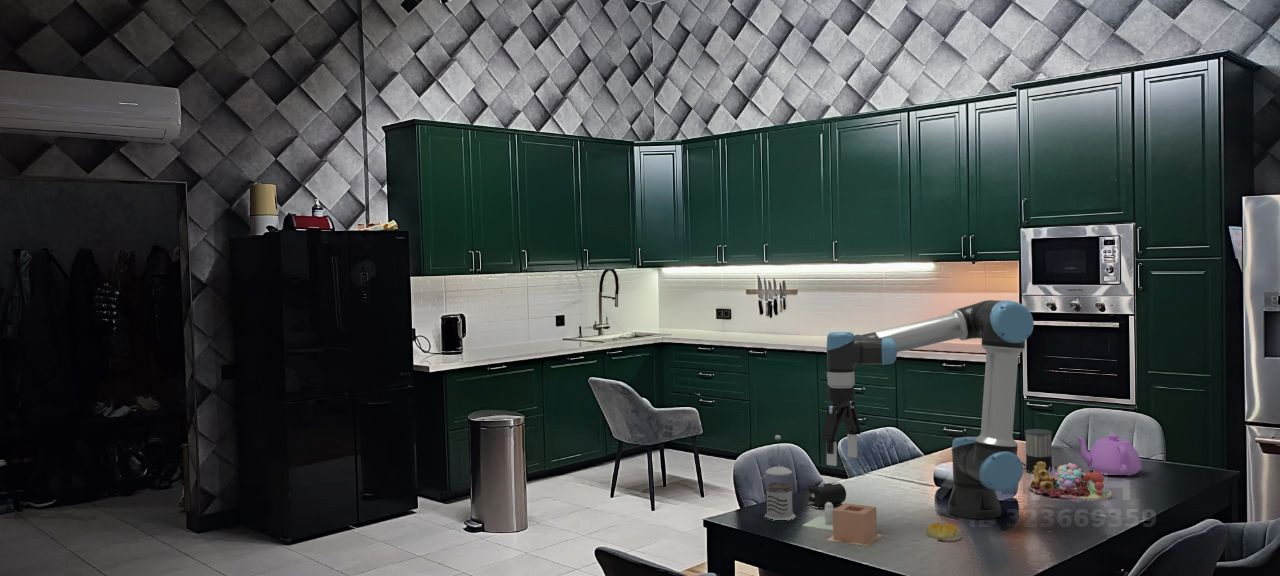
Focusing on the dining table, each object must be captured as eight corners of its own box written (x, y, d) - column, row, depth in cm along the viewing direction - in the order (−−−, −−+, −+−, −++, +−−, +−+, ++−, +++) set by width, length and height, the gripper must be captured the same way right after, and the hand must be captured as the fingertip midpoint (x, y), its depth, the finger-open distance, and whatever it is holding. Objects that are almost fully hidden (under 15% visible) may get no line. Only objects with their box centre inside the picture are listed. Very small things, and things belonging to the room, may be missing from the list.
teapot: (1065, 467, 338) (1064, 429, 338) (1127, 467, 335) (1126, 429, 335) (1085, 480, 316) (1084, 440, 316) (1152, 480, 313) (1151, 440, 313)
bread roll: (930, 532, 258) (930, 518, 258) (963, 536, 254) (962, 522, 254) (922, 539, 252) (921, 525, 251) (955, 544, 247) (955, 529, 247)
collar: (876, 535, 254) (876, 507, 254) (864, 543, 247) (863, 514, 246) (846, 531, 259) (845, 503, 259) (833, 539, 252) (832, 510, 252)
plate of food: (1030, 498, 294) (1030, 470, 294) (1025, 482, 316) (1024, 456, 316) (1117, 502, 286) (1116, 473, 286) (1105, 486, 308) (1104, 458, 308)
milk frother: (1057, 474, 326) (1056, 432, 326) (1013, 475, 326) (1012, 434, 326) (1040, 466, 340) (1039, 426, 340) (998, 467, 340) (997, 427, 340)
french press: (788, 522, 273) (786, 438, 273) (753, 517, 279) (750, 436, 279) (801, 514, 281) (799, 433, 281) (766, 510, 287) (764, 431, 287)
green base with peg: (856, 523, 269) (856, 500, 269) (840, 533, 260) (839, 509, 259) (819, 518, 276) (818, 495, 276) (801, 527, 267) (801, 504, 266)
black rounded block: (821, 510, 285) (821, 489, 285) (807, 506, 292) (807, 484, 292) (846, 506, 290) (846, 485, 290) (832, 501, 296) (832, 480, 296)
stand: (884, 537, 254) (883, 517, 254) (867, 548, 244) (867, 527, 244) (843, 531, 261) (842, 511, 261) (826, 542, 251) (825, 521, 251)
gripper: (847, 381, 272) (848, 452, 272) (808, 390, 252) (810, 467, 252) (871, 382, 267) (872, 455, 267) (833, 391, 248) (835, 470, 248)
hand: (842, 461), depth 260 cm, fingers open, 13 cm apart
